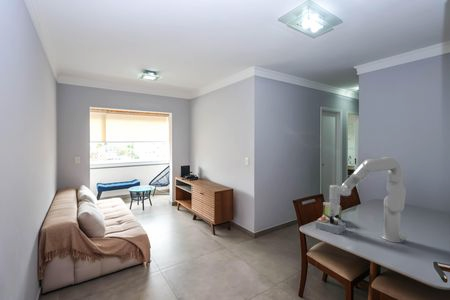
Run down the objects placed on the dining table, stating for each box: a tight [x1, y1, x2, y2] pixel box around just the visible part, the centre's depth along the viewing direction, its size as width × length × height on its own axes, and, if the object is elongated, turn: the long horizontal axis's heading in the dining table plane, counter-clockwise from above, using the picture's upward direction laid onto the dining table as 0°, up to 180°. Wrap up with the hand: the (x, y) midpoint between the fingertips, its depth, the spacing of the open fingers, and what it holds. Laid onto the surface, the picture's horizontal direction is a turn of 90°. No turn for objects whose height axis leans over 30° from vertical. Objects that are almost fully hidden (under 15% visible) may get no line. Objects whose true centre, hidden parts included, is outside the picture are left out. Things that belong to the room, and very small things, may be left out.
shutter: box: [316, 215, 330, 223], centre depth 184 cm, size 7×7×3 cm
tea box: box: [322, 201, 342, 222], centre depth 199 cm, size 15×10×15 cm
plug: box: [331, 218, 339, 225], centre depth 178 cm, size 5×5×9 cm
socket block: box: [315, 220, 346, 235], centre depth 180 cm, size 18×14×5 cm
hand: (334, 221), depth 178 cm, fingers open, 9 cm apart
